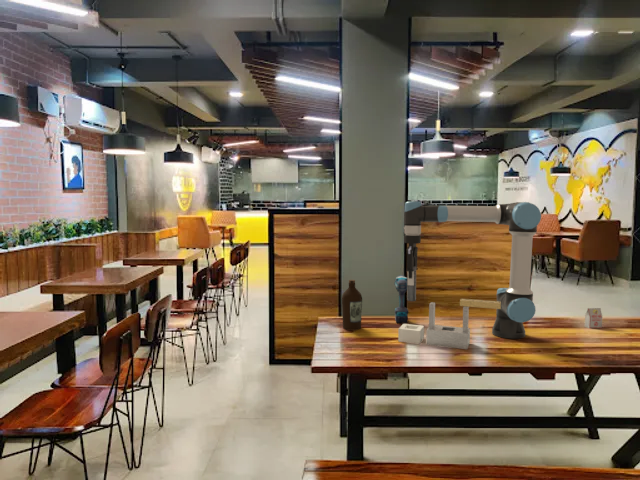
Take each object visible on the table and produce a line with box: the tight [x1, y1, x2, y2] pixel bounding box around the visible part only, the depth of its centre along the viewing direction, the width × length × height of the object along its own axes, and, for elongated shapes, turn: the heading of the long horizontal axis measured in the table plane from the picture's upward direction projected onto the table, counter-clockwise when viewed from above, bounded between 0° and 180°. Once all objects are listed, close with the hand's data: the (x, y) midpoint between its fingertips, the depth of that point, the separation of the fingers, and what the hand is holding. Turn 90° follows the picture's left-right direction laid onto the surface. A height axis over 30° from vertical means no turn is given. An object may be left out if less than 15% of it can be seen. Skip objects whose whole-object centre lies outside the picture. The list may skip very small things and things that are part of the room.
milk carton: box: [584, 307, 603, 329], centre depth 243 cm, size 4×7×10 cm, turn 94°
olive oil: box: [341, 279, 363, 331], centre depth 242 cm, size 11×11×25 cm
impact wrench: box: [393, 274, 409, 324], centre depth 256 cm, size 8×23×25 cm, turn 174°
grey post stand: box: [425, 301, 471, 350], centre depth 214 cm, size 18×10×18 cm, turn 67°
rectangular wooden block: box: [459, 298, 501, 310], centre depth 208 cm, size 17×4×2 cm, turn 67°
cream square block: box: [397, 323, 425, 345], centre depth 222 cm, size 10×10×6 cm
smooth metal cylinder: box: [406, 266, 417, 302], centre depth 220 cm, size 4×4×16 cm
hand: (411, 284), depth 220 cm, fingers closed on smooth metal cylinder, 4 cm apart
